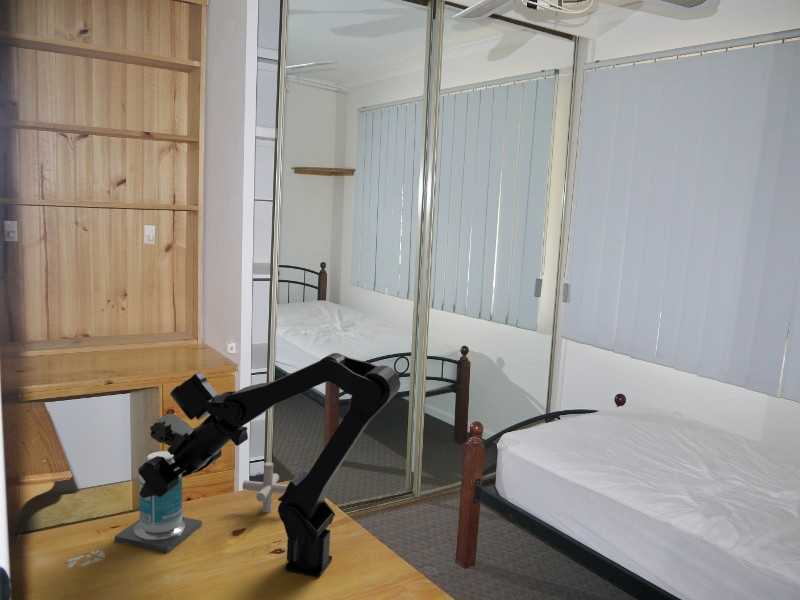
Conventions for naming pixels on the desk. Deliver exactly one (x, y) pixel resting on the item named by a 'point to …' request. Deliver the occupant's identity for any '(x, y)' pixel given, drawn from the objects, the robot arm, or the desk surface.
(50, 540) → the desk surface
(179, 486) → the pill bottle
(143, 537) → the flange plate
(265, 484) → the pipe connector
